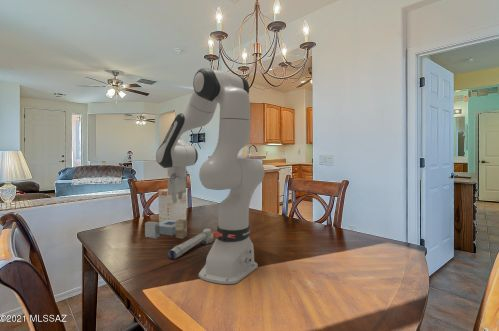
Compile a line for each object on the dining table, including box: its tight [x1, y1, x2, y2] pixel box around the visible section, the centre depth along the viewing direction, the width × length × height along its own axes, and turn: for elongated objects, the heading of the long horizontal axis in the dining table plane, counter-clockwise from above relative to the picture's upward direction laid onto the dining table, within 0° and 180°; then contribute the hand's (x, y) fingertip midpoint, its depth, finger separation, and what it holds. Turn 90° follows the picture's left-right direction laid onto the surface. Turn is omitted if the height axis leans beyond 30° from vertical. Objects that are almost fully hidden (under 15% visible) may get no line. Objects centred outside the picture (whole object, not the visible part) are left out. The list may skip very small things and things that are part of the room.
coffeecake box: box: [157, 187, 187, 223], centre depth 157 cm, size 15×7×20 cm, turn 144°
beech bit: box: [175, 219, 188, 239], centre depth 130 cm, size 4×4×8 cm
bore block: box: [159, 219, 177, 237], centre depth 139 cm, size 12×12×4 cm
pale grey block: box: [144, 221, 161, 239], centre depth 129 cm, size 3×6×7 cm, turn 70°
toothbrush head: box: [167, 228, 214, 260], centre depth 114 cm, size 5×7×25 cm
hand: (177, 200), depth 131 cm, fingers open, 8 cm apart
